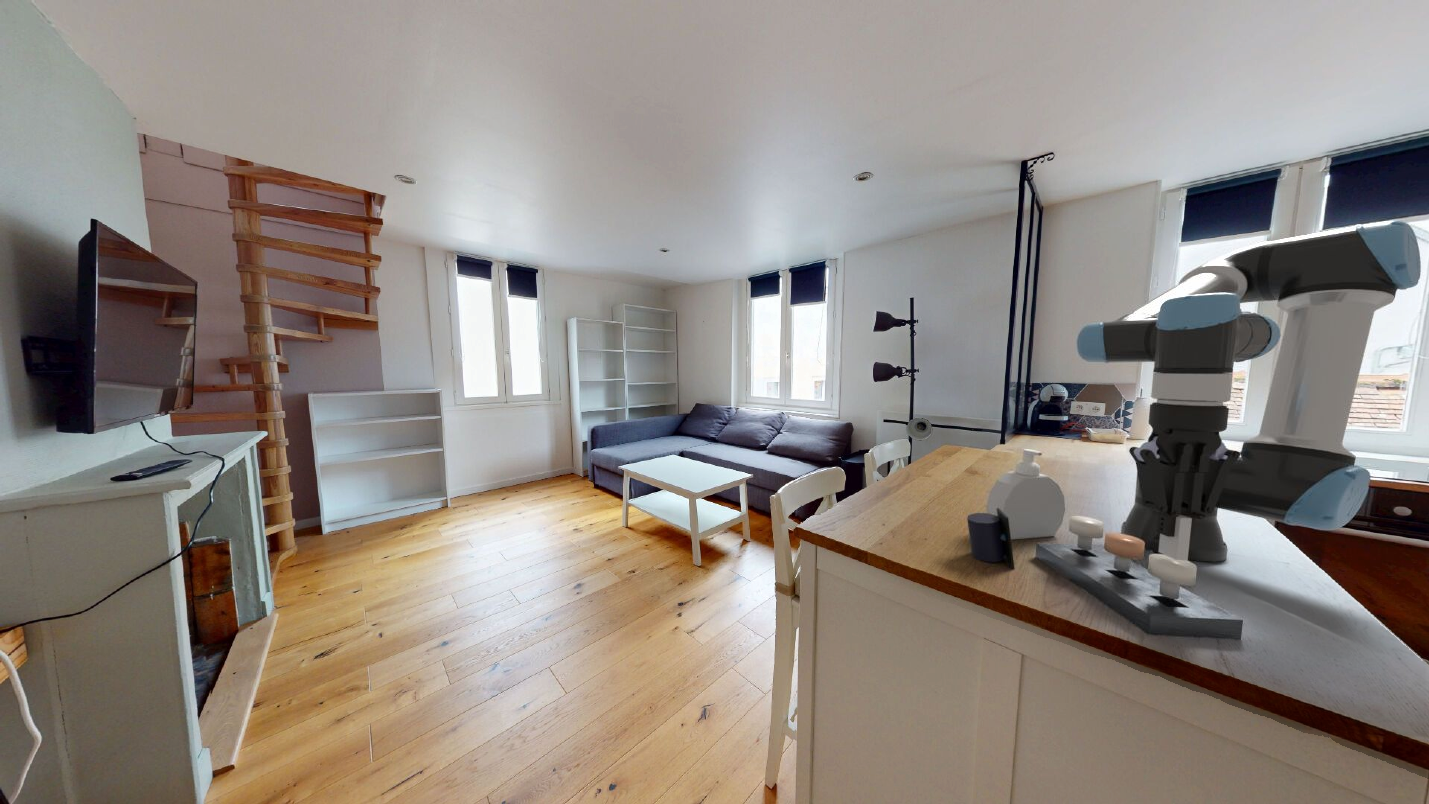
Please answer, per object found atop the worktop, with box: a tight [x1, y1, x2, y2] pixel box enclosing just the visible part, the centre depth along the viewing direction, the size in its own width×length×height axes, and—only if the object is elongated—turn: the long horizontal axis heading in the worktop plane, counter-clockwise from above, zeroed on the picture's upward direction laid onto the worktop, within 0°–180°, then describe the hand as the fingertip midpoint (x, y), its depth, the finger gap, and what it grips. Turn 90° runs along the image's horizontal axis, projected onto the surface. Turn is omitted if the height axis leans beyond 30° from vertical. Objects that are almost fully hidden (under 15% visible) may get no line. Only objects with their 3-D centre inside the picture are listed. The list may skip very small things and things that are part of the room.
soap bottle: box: [986, 448, 1066, 541], centre depth 92 cm, size 16×5×20 cm, turn 98°
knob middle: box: [1103, 532, 1145, 572], centre depth 69 cm, size 5×5×6 cm
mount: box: [1035, 542, 1244, 640], centre depth 70 cm, size 12×24×3 cm, turn 174°
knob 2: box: [1147, 553, 1198, 599], centre depth 61 cm, size 5×5×6 cm
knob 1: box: [1068, 515, 1105, 550], centre depth 77 cm, size 5×5×6 cm
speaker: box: [966, 508, 1015, 570], centre depth 82 cm, size 8×6×10 cm
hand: (1172, 555), depth 61 cm, fingers closed
